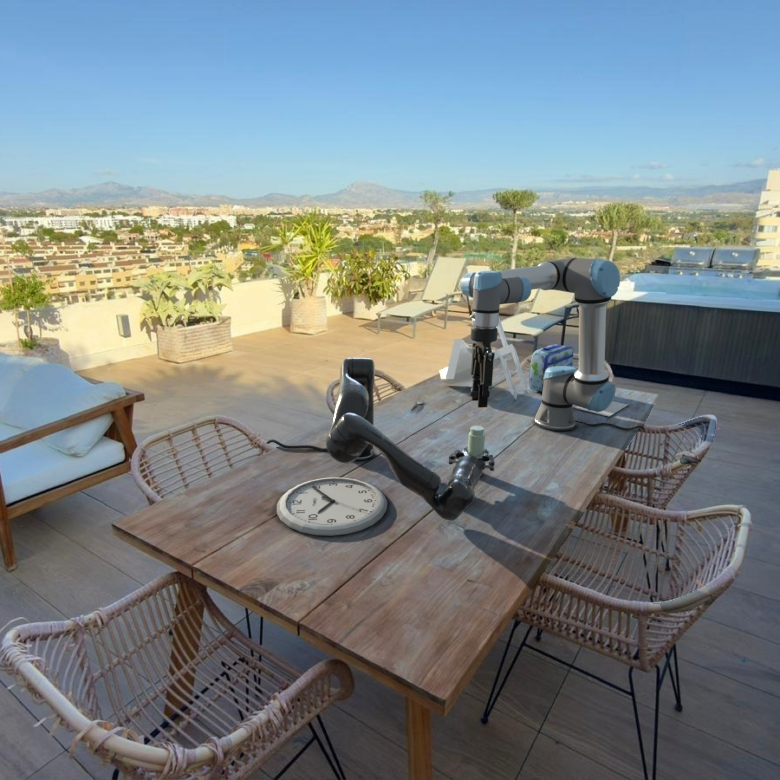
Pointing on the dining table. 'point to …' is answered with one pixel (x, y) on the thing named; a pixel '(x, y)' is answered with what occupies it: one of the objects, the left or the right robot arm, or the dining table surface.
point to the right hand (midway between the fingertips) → (479, 403)
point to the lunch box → (548, 363)
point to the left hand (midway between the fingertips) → (476, 450)
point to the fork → (418, 403)
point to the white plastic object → (463, 360)
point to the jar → (476, 441)
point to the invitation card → (607, 409)
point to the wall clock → (331, 506)
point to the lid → (476, 392)
